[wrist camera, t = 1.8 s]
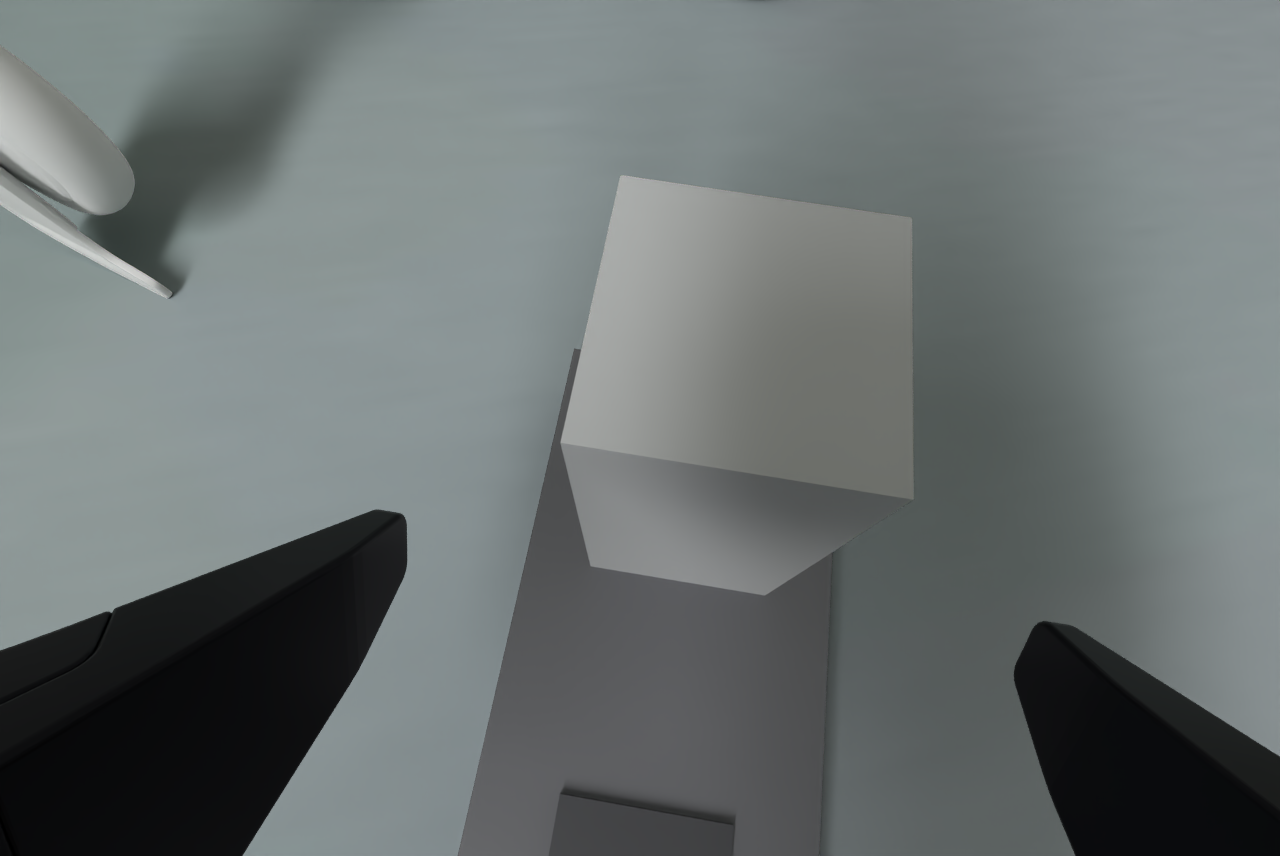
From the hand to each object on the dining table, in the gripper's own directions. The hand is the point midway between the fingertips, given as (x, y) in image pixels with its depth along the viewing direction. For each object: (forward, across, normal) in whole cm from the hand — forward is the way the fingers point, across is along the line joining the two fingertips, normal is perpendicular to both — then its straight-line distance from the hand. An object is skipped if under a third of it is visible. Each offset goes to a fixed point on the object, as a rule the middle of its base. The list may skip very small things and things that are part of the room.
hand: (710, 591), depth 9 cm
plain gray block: (+10, 0, +5) cm, 11 cm away
